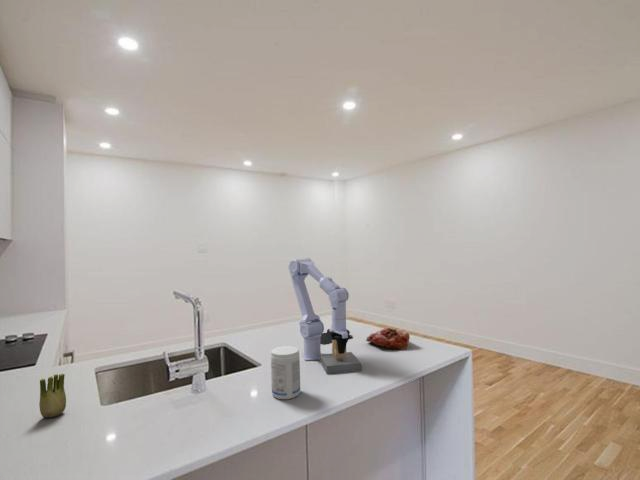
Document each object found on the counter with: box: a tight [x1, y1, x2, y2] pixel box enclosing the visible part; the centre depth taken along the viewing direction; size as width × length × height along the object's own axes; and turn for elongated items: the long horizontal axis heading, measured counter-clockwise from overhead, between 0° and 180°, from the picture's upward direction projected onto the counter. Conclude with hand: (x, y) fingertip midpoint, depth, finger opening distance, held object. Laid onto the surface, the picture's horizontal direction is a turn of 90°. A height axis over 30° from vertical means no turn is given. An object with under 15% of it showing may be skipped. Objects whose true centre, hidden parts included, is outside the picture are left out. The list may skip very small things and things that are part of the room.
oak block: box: [331, 340, 347, 358], centre depth 139 cm, size 4×4×6 cm
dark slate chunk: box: [320, 328, 354, 346], centre depth 180 cm, size 15×22×5 cm
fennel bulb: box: [38, 373, 67, 419], centre depth 101 cm, size 6×5×12 cm
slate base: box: [319, 351, 362, 375], centre depth 139 cm, size 14×14×3 cm
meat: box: [365, 327, 411, 351], centre depth 167 cm, size 21×21×10 cm
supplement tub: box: [270, 345, 301, 400], centre depth 113 cm, size 10×10×15 cm
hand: (339, 351), depth 139 cm, fingers closed on oak block, 4 cm apart
